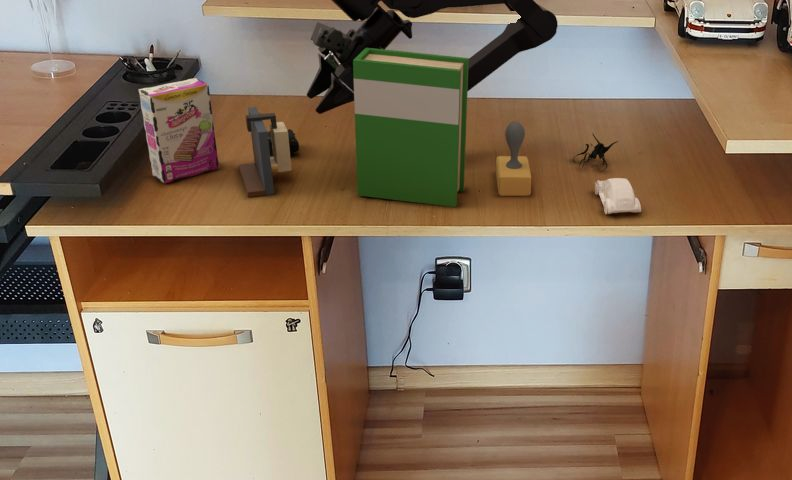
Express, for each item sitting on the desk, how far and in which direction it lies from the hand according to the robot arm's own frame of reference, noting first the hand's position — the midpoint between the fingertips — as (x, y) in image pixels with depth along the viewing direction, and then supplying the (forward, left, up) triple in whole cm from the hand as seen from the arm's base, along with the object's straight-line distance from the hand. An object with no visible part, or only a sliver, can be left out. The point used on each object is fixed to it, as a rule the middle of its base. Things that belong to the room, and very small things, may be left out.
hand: (312, 104), depth 161 cm
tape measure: (+7, -12, -14) cm, 19 cm away
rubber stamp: (-35, +8, -14) cm, 39 cm away
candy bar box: (+24, -3, -14) cm, 27 cm away
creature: (-52, 0, -14) cm, 54 cm away
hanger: (+8, +2, -11) cm, 14 cm away
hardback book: (-16, +11, -13) cm, 24 cm away
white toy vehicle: (-52, +18, -14) cm, 57 cm away
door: (+10, +2, -13) cm, 17 cm away
